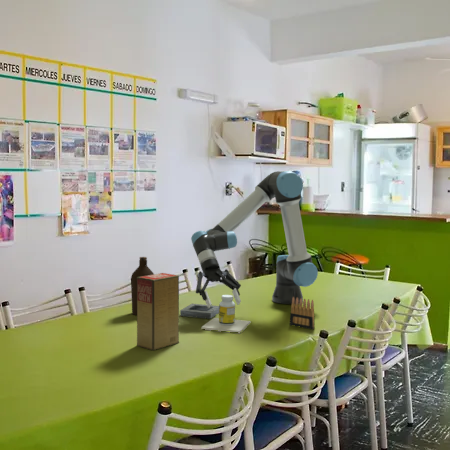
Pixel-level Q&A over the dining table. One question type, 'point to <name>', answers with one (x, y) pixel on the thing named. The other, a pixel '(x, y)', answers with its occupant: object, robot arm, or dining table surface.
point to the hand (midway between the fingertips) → (224, 304)
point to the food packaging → (157, 310)
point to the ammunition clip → (302, 314)
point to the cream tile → (236, 327)
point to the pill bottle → (227, 311)
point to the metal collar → (199, 311)
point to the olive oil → (139, 272)
